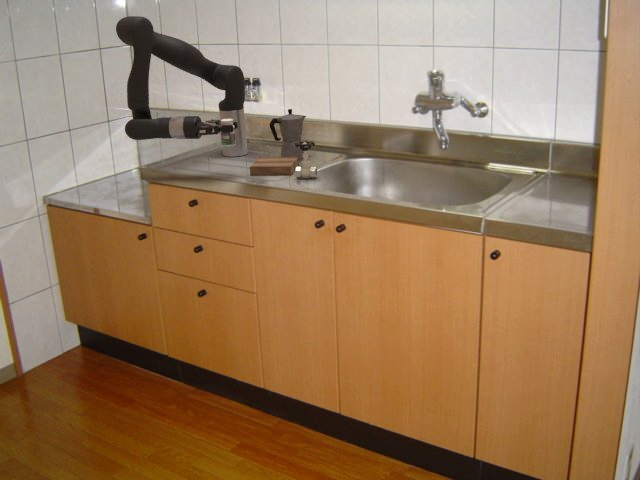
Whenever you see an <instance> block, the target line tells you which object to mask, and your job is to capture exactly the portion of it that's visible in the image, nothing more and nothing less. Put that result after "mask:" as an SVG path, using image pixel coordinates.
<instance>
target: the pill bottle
mask: <svg viewBox="0 0 640 480" xmlns="http://www.w3.org/2000/svg"><path fill="white" fill-rule="evenodd" d="M222 125H233V119H222V120H221V127H222ZM233 129H234V131H233V132H222V133H220V140H221V145H222V147H223V146H234V145H236V138H235V126H234V125H233Z"/></svg>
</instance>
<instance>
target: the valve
mask: <svg viewBox="0 0 640 480" xmlns="http://www.w3.org/2000/svg"><path fill="white" fill-rule="evenodd" d="M315 145H316V144H315V142H314V141H313V140H310V141H309V140H304V141H302V140H301V141H299V142H295V146H296V147H299V146H300V149H301V150H302V151H304V153H303V154H302V155H303V158H304V159H302V161H301V162H300V165H301V166H298V167H296V170H295V171H294V173H295V178H296V179H305V180H308V179H310V178H311V179H317V177H318V168H317V167H316V166H310V165H311V161H310V160H309V153H308V151H309V150H311V149H312V147H315Z"/></svg>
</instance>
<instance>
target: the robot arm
mask: <svg viewBox="0 0 640 480" xmlns="http://www.w3.org/2000/svg"><path fill="white" fill-rule="evenodd" d="M115 26H116V27H115V32H116V35H117V37H118V39H119V41H121V42H122V43H124V44H125V45H127V46H130V47H132V49H133V61H132V66H131V67H130V68H131V69H130V71H129V72H130V73H129V75H128V79H127V85H126V94H127V95H126V101H127V108H128V109H129V110H130V111H131V115H132V118H131V119H129V120H128V121H127V122H126V123H125V126H124V132H125V134H126V135H127V137H128V138H129V139H132V140H134V141H140V140H141V141H143V140H146V141H147V140H153V139H154V140H155V139H165V140H166V139H173V140H174V139H176V140H199V139H201V137H202V136H207V135H208V136H209V135H211V136H212V135H213V136H214V135H218V134H221V133H222V132H233V131H234V129H233V125H234V126H235V138H236V145H234V146H222V154H223V156H224V157H232V158H233V157H235V158H236V157H242V156H245V155H247V154H248V145H247V144H248V143H247V130H246V119H245V106H244V104H245V100H246V99H245V98H246V89H245V88H246V87H245V86H246V85H245V82H246V81H245V75H244V72H243V70H242V68H241V67H239V66H237V65H233V64H232V65H230V64H220V63H217V62H214V61H212V60H210V59H208V58H207V57H206V56H204V54H203V53H202V51H200V49H198V48H197V47H196V46H194V45H192V44H190V43H188V42H187V41H184V40H182V39H179V38H177V37H173V36H170V35H166V34H163V33H159V32H157V31H154V25H153V24H152V22H151V20H150V19H148V18H147V17H145V16H137V15H136V16H134V15H132V16H131V15H130V16H124V17H122V18H120V19H119V20H118V21H117V23H116V25H115ZM152 55H153V56H155V57H156V58H158V59H160V60H161V61H164V62H165V63H167V64H169V65H171V66H173V67H175V68H176V69H178V70H181V71H183V72H185V73H188V74H190V75H193V76H195V77H198V78H200V79H202V80H203V81H206V82H207V83H208V84H209V85H212V86H213V87H214V88H216V89H218V90H220V91H224V95H225V96H224V99H223V100H220V101H219V102H218V111H219V119H213V118H212V119H207V120H205V121H202V118H201V117H200V116H199V115H189V116H188V115H187V116H186V115H183V116H182V115H181V116H173V117H172V116H171V117H165V116H164V117H158V118H153V117H152V113H151V109H150V93H149V91H150V90H149V89H150V88H149V86H150V85H149V84H150V83H149V82H150V81H149V80H150V69H151V59H152ZM222 119H233V125H222V127H221V120H222Z"/></svg>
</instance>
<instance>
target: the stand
mask: <svg viewBox="0 0 640 480" xmlns="http://www.w3.org/2000/svg"><path fill="white" fill-rule="evenodd" d="M299 162H300V160H298V157H281V156H270V157H269V156H265V157H264V156H261V157H260V156H259V157H258V158H257V159H256V160H255V161H254V162H253V163H252V164H251V165H250V166H249V173H250V174H249V175H250V176H252V177H254V176H255V177H257V176H259V177H260V176H266V177H267V176H272V177H273V176H274V177H276V176H292V175H293V174H294V173H295V170H296V167H300V163H299Z"/></svg>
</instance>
